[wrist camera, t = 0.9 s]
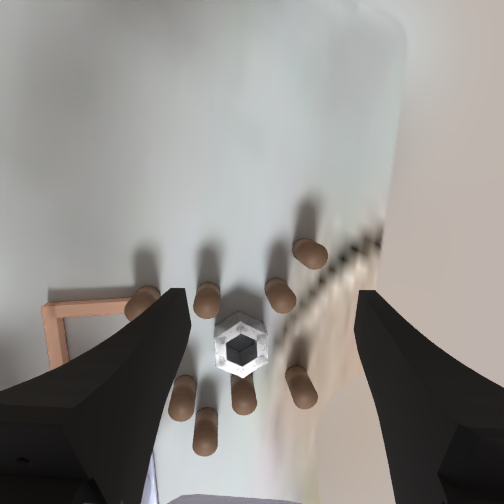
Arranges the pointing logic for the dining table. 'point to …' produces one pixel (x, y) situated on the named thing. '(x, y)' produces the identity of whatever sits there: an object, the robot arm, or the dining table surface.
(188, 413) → the walnut spacers
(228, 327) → the steel nut
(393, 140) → the dining table surface
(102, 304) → the parts bay
